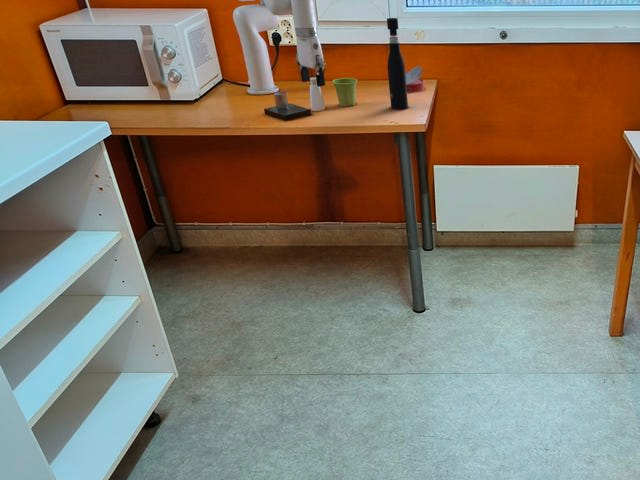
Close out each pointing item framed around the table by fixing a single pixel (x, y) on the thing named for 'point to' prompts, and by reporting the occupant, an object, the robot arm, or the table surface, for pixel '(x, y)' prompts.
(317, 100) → the pepper shaker
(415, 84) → the tissue box
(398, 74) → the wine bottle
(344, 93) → the plant pot
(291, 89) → the table surface
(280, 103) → the hob knob
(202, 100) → the table surface
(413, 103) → the table surface
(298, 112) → the black knob panel
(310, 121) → the table surface
